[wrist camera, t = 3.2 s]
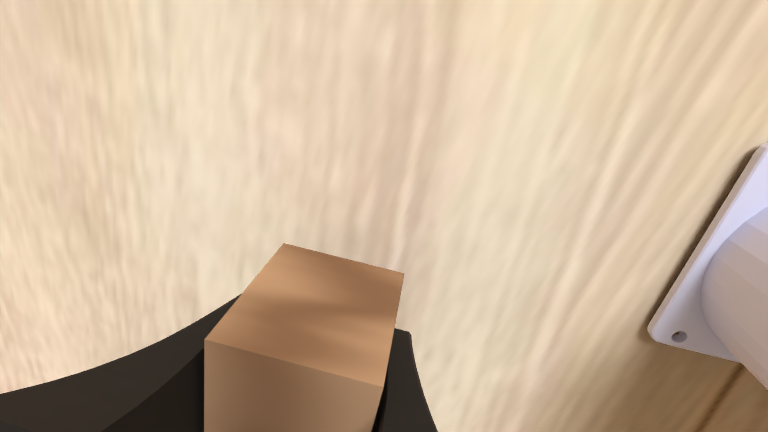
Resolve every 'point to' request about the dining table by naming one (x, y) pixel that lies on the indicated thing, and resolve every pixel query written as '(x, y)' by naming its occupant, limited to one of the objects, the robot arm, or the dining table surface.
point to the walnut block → (302, 347)
